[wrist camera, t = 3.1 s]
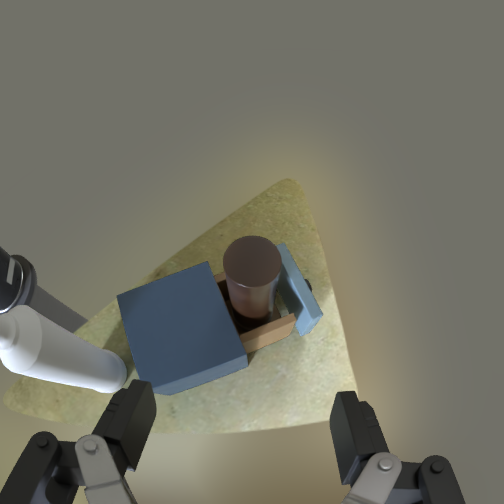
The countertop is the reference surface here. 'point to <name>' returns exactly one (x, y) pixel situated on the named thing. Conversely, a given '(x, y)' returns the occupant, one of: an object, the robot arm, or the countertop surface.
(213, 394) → the countertop surface
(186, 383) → the cabinet
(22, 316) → the bottle
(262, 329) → the drawer
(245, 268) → the pepper mill
